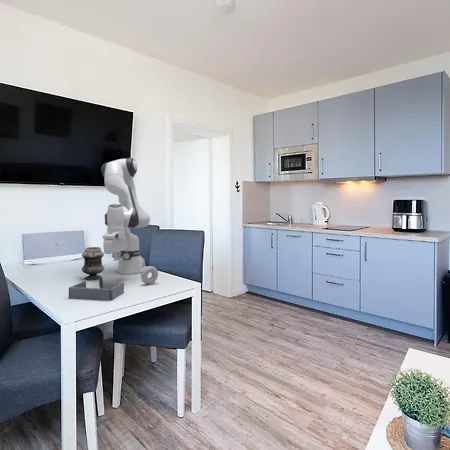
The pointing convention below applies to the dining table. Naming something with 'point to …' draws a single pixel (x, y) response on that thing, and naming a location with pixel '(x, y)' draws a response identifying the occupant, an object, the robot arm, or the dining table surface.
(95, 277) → the apothecary jar
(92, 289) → the box
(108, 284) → the ceramic mug
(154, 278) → the donut
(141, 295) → the dining table surface
